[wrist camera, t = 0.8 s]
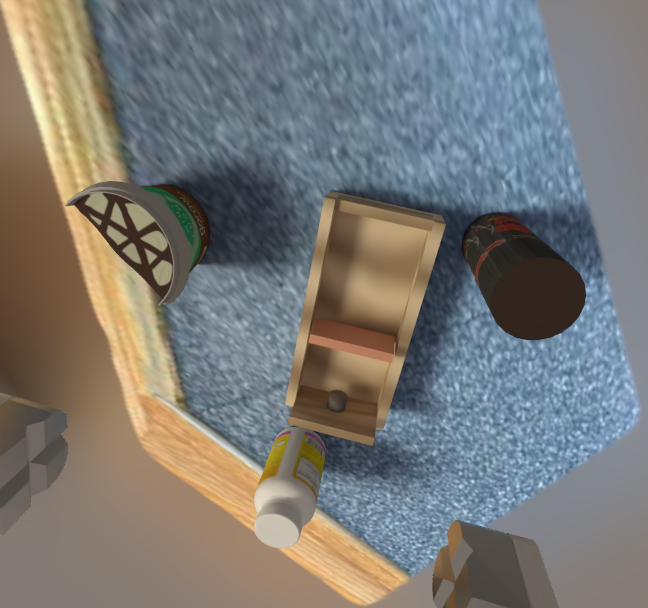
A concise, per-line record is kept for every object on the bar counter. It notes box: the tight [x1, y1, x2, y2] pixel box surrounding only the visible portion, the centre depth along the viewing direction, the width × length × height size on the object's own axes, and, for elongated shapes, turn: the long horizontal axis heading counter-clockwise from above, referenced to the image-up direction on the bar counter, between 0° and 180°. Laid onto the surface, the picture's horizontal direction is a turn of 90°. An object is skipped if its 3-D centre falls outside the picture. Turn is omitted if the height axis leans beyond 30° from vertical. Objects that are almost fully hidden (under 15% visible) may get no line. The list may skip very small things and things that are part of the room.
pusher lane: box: [285, 191, 446, 446], centre depth 45 cm, size 23×11×7 cm, turn 169°
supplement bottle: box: [254, 427, 326, 548], centre depth 51 cm, size 7×7×13 cm
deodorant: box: [462, 212, 586, 340], centre depth 37 cm, size 6×6×15 cm
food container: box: [65, 181, 210, 305], centre depth 43 cm, size 12×6×10 cm, turn 39°
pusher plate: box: [309, 318, 395, 363], centre depth 46 cm, size 1×8×4 cm, turn 79°
